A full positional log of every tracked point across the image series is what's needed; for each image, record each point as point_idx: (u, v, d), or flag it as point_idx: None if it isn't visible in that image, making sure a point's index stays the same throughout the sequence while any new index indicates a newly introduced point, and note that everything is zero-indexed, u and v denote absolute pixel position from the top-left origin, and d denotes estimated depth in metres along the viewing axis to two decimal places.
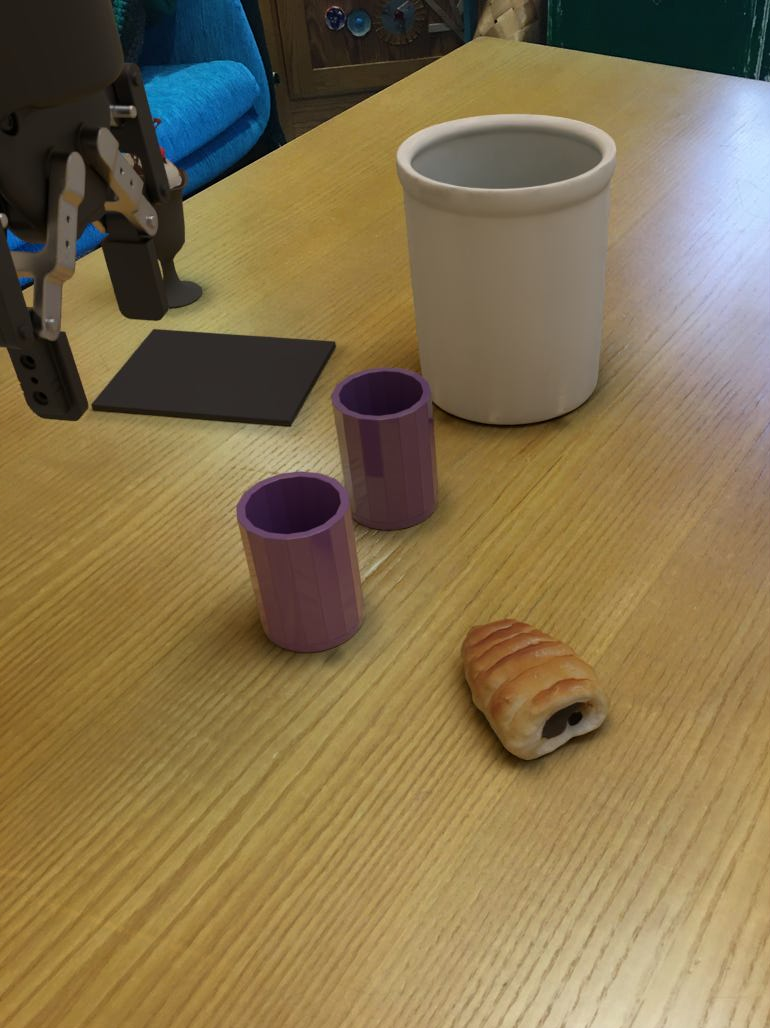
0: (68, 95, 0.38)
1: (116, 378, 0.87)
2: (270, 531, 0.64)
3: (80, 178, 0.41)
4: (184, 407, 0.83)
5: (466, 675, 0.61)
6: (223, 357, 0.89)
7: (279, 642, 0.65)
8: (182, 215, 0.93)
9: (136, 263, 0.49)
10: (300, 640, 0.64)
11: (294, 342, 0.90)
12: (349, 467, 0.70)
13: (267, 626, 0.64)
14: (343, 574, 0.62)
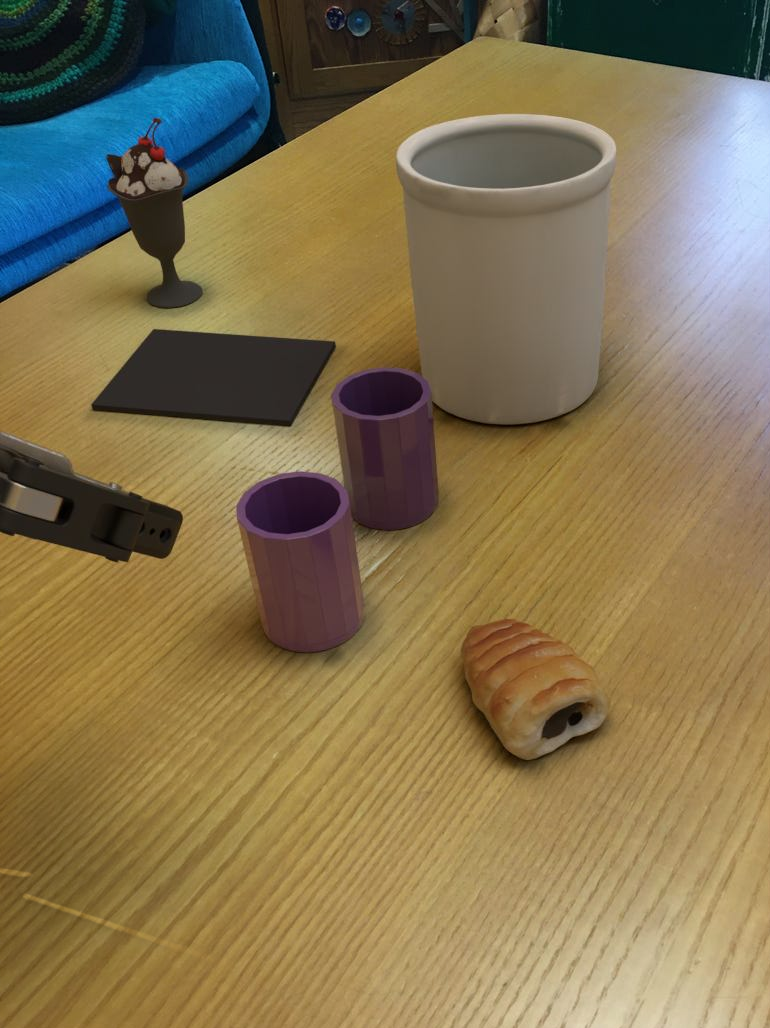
0: None
1: (116, 378, 0.87)
2: (270, 531, 0.64)
3: None
4: (184, 407, 0.83)
5: (466, 675, 0.61)
6: (223, 357, 0.89)
7: (279, 642, 0.65)
8: (182, 215, 0.93)
9: None
10: (300, 640, 0.64)
11: (294, 342, 0.90)
12: (349, 467, 0.70)
13: (267, 626, 0.64)
14: (343, 574, 0.62)
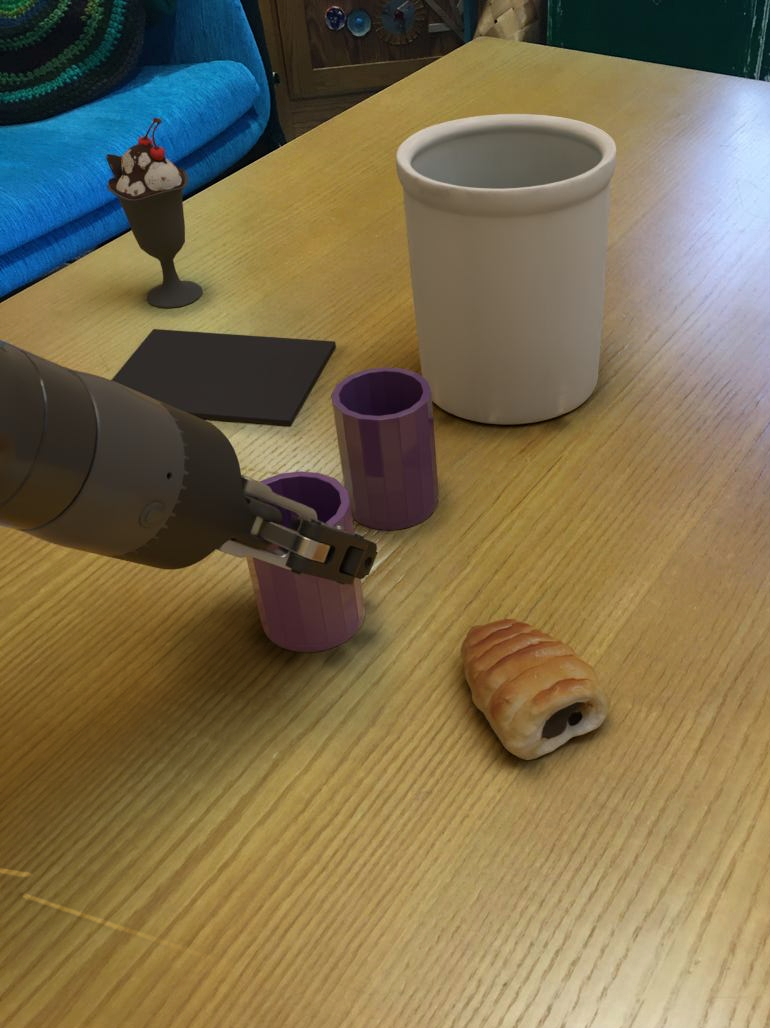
0: None
1: (116, 378, 0.87)
2: None
3: None
4: (184, 407, 0.83)
5: (466, 675, 0.61)
6: (223, 357, 0.89)
7: (279, 642, 0.65)
8: (182, 215, 0.93)
9: None
10: (300, 640, 0.64)
11: (294, 342, 0.90)
12: (349, 467, 0.70)
13: (267, 626, 0.64)
14: None
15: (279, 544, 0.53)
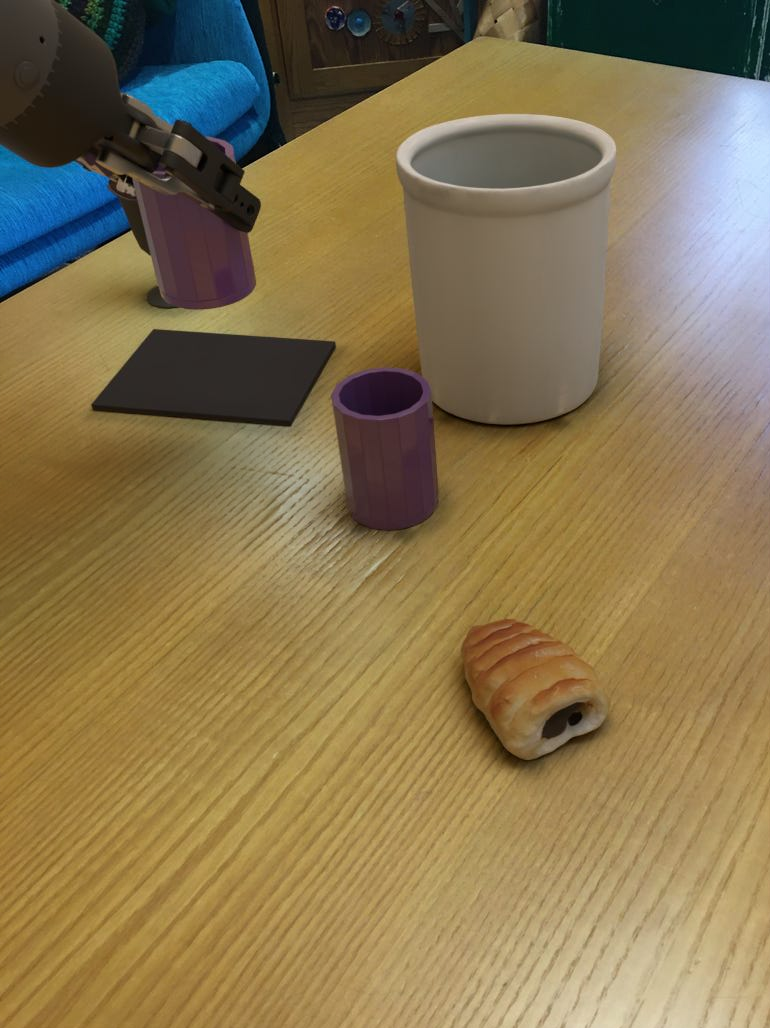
0: None
1: (116, 378, 0.87)
2: None
3: (81, 160, 0.62)
4: (184, 407, 0.83)
5: (466, 675, 0.61)
6: (223, 357, 0.89)
7: (173, 300, 0.70)
8: None
9: None
10: (192, 295, 0.69)
11: (294, 342, 0.90)
12: (349, 467, 0.70)
13: (162, 285, 0.70)
14: (229, 226, 0.67)
15: (153, 144, 0.58)
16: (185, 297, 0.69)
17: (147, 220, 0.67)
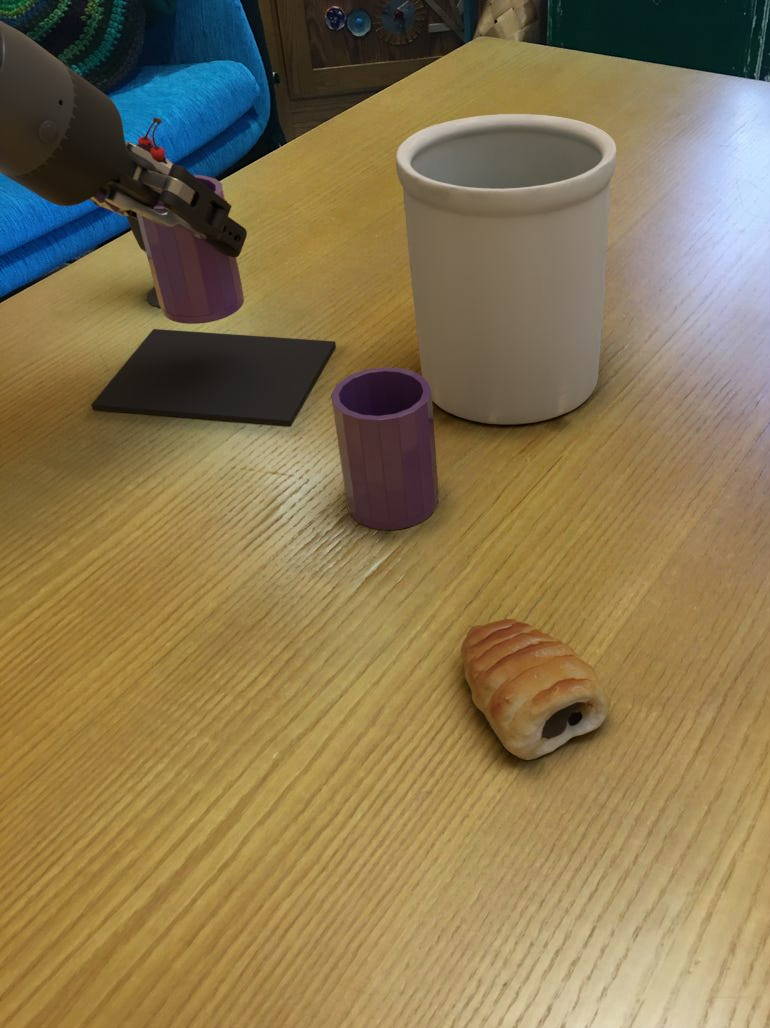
0: None
1: (116, 378, 0.87)
2: None
3: (93, 198, 0.73)
4: (184, 407, 0.83)
5: (466, 675, 0.61)
6: (223, 357, 0.89)
7: (172, 316, 0.81)
8: None
9: None
10: (188, 311, 0.80)
11: (294, 342, 0.90)
12: (349, 467, 0.70)
13: (163, 303, 0.81)
14: (219, 251, 0.78)
15: (154, 185, 0.69)
16: (182, 313, 0.80)
17: (149, 247, 0.78)
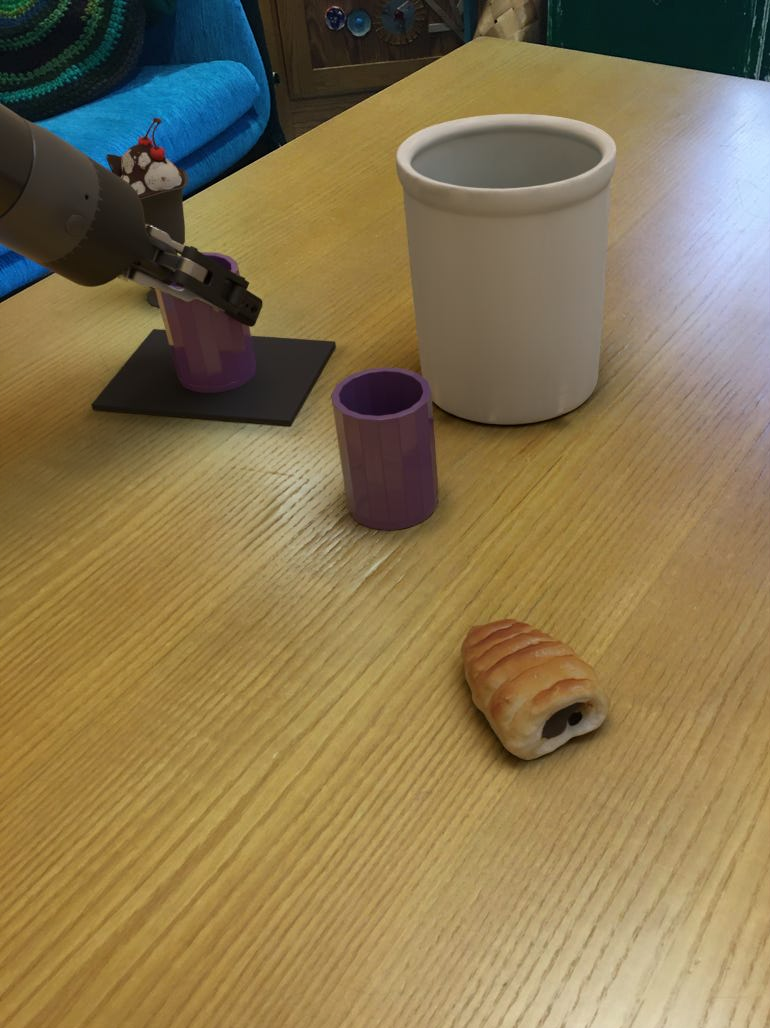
0: None
1: (116, 378, 0.87)
2: None
3: None
4: (184, 407, 0.83)
5: (466, 675, 0.61)
6: None
7: (189, 386, 0.85)
8: (182, 215, 0.93)
9: None
10: (204, 382, 0.84)
11: (294, 342, 0.90)
12: (349, 467, 0.70)
13: (180, 373, 0.85)
14: (234, 326, 0.82)
15: (168, 266, 0.73)
16: (199, 383, 0.84)
17: (168, 323, 0.82)
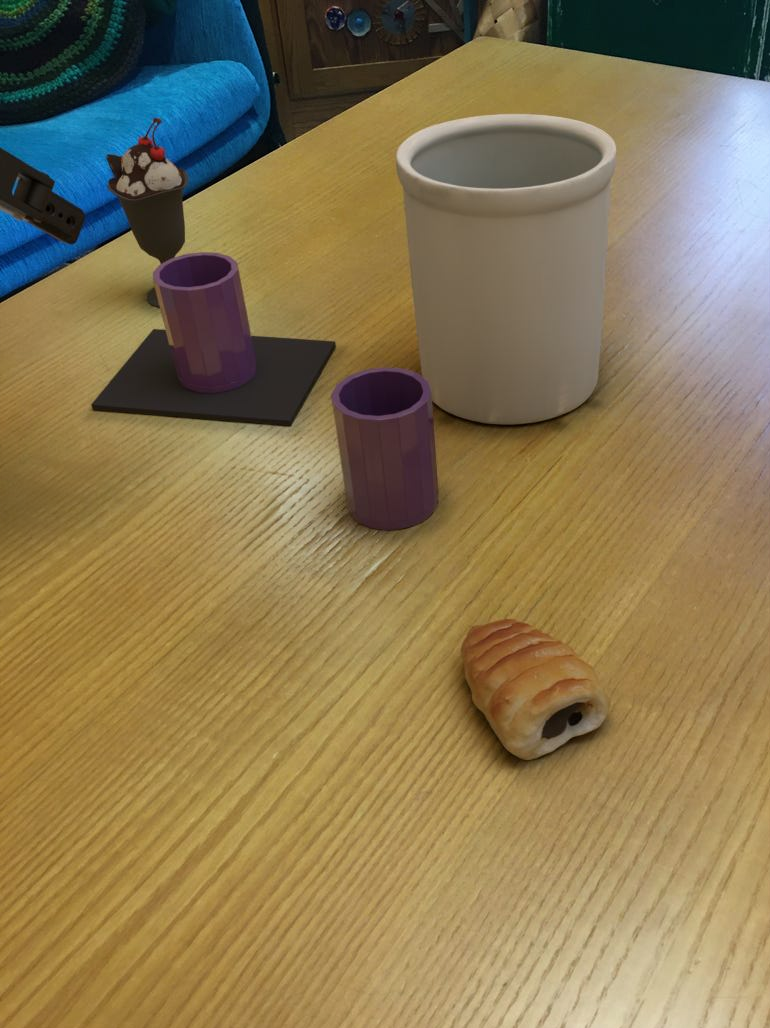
0: None
1: (116, 378, 0.87)
2: None
3: None
4: (184, 407, 0.83)
5: (466, 675, 0.61)
6: None
7: (189, 386, 0.85)
8: (182, 215, 0.93)
9: None
10: (204, 382, 0.84)
11: (294, 342, 0.90)
12: (349, 467, 0.70)
13: (180, 373, 0.85)
14: (234, 326, 0.82)
15: None
16: (199, 383, 0.84)
17: (168, 323, 0.82)
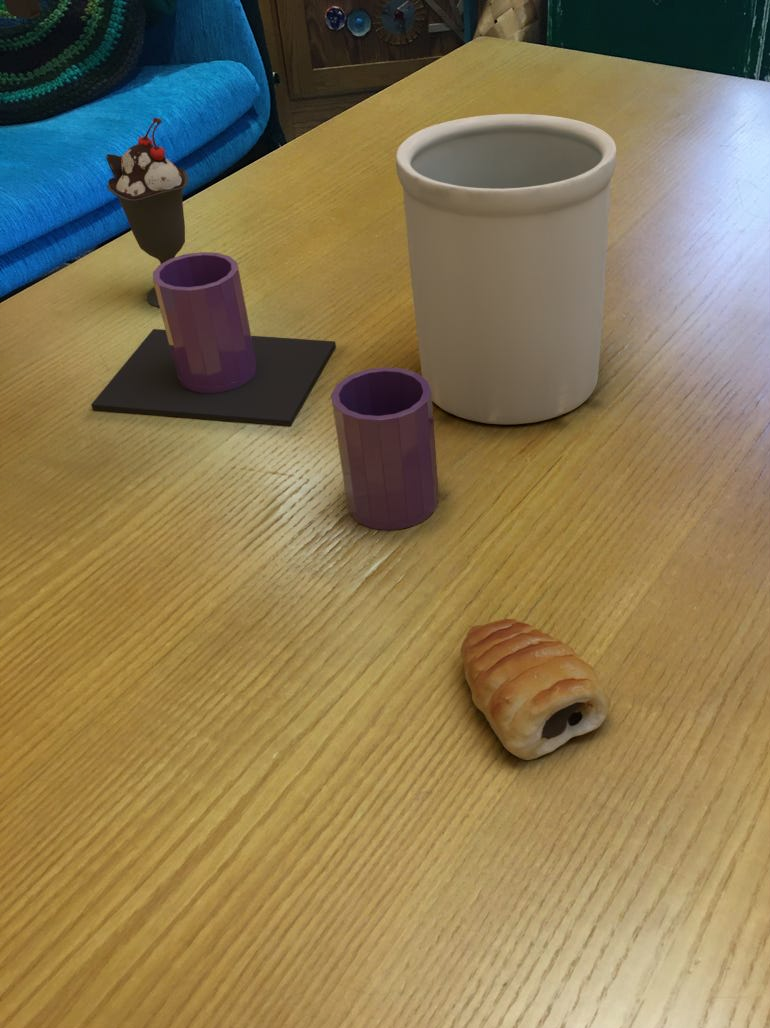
0: None
1: (116, 378, 0.87)
2: None
3: None
4: (184, 407, 0.83)
5: (466, 675, 0.61)
6: None
7: (189, 386, 0.85)
8: (182, 215, 0.93)
9: None
10: (204, 382, 0.84)
11: (294, 342, 0.90)
12: (349, 467, 0.70)
13: (180, 373, 0.85)
14: (234, 326, 0.82)
15: None
16: (199, 383, 0.84)
17: (168, 323, 0.82)
